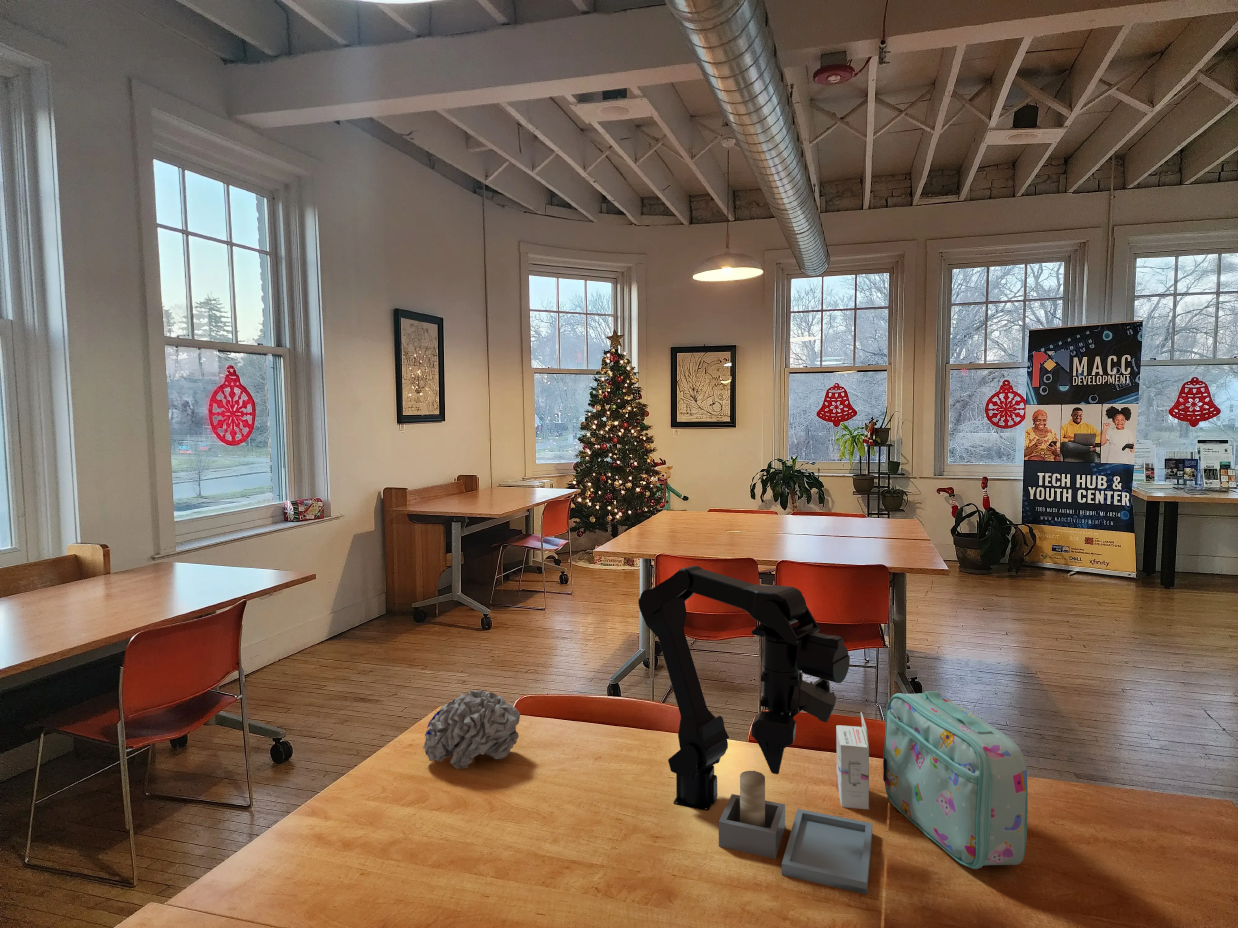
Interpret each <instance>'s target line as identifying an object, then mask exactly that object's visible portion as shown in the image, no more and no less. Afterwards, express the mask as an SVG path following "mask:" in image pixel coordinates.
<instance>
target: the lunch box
mask: <svg viewBox="0 0 1238 928" xmlns="http://www.w3.org/2000/svg"><path fill="white" fill-rule="evenodd" d="M884 726H885V731H884V732H885V734H884V747H883V756H882V757H883V758H882V759H883V761H882V763H883V764H882V769H883V774H882V781H883V782H884V787H885V793H886V795H887V798H888V799H889V802H890V803H891V804H892V805H893V806H894V808H896V809H897V810H898V811H899V812H900V813H901V814H902V815H903V816H904V817H905V818H906V819H907V820H908V821H909V822H910V823H912V824H913V825H914V826H915V827H916V828H918V829H919V830H920V831H921V832H922V833H923V834H924V835H925V836H926V837H927V838H929V839H930V840H932V842H935V844H937V845H938V846H939V847H940V848H941V849H943V850H944V851H945V852H946V853H947V854H948V855H950V856H951V857H952V858H953V859H954V860H955V861H957V862H958V863H959V864H961V865H963V866H965V867H968V868H970V869H973V870H978V869H981V868H982V867H983V866H1011V865H1012V866H1017V865H1019V864H1021V863H1022V862H1023V860H1024V858H1025V855H1026V850H1027V849H1026V847H1027V837H1028V836H1027V833H1028V814H1029V813H1028V803H1029V801H1028V798H1029V797H1028V795H1029V793H1028V792H1029V791H1028V769H1027V764H1026V763H1027V762H1026V760H1025V756H1024V754H1023V752H1022V750H1021V749H1020V747H1019V746H1018V745H1017V744H1016V743H1015V742H1014V741H1013V740H1012V739H1011V738H1009V737H1008V736H1007V735H1006V734H1004V733H1002V732H1001V731H1000V730H998V729H997V728H995V727H994V726H992V725H991V724H989V723H987V722H986V721H985V720H983V719H981V718H980V717H978V716H977V715H975V714H973V713H972V712H970V711H969V710H967V709H965V708H964V707H962V706H961V705H960V704H959V705H958V704H957V703H956V702H953V701H952V700H950V699H948V698H946V697H944V696H942V695H941V693H940V692H939V691H936V690H935V691H925V692H921V693H920V692H919V693H901V692H898V693H895V694H893V695H892V696H891V697H890V698H889V700H888V701H887V705H886V709H885V725H884Z"/></svg>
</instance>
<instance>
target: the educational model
mask: <svg viewBox="0 0 1238 928" xmlns="http://www.w3.org/2000/svg"><path fill="white" fill-rule="evenodd" d="M520 719H521V713H520V711H518V709H517V708H516V707H515V706H513V705H511V703H508V702H507V701H506V700H505V699H504V696H502V695H497V694H496V693H494V692H492V691H484V690H481V689H479V690H476V689H473V690H469V691H467V694H465V693H461V695H460V696H458V697H456V698H455V699H453V700H452V701H448V703H446V704H444V705H443V706H441V708H440V709H439V711H437V712H436V713H434V715H433V716H432V717H431V719H430V721H429V722H428V724H427V727H426V728H427V730H426V731H425V734H424V736H425V741H424V742H423V747H422V748H423V749H424V752H425V756H426V757H428V760H429V761H431V762H433V761H437V762H443V760H444V759H445V758H448V759H449V758H450V757H451V756H452V758H451V759H450V762H449V764H451V765H452V767H454V768H456V769H457V770H458V769H468V768H469V765H470V764H471V763H473V761H474V758H475V757H478V756H479V755H482V756H483V755H486V756H489V757H491V758H493V759H495V760H502V759H505V758H506V757H507V756H508V755H509V753H510V751H511V749H513V748H514V747H513V746H514V745H516V744H517V741H518V739H519V737H520V736H519V731H518V732H517V725H519V724H520Z"/></svg>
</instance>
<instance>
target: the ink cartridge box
mask: <svg viewBox="0 0 1238 928" xmlns="http://www.w3.org/2000/svg"><path fill="white" fill-rule="evenodd" d="M860 719H861V726H854V725H853V726H852V725H838V724H837V725H836V726H835V727H836V728H835V729H836V730H835V732H836V733H835V734H836V787H837V788H836V789H837V792H838V797H839V802H840V807H841V808H847V809H848V808H849V809H859V810H860V809H861V810H870V747H869V736H868V735H869V734H868V728H867V724H866V721H865V719H864V715H863V712H862V711H860Z"/></svg>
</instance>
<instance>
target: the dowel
mask: <svg viewBox="0 0 1238 928" xmlns="http://www.w3.org/2000/svg"><path fill="white" fill-rule="evenodd" d="M739 795H740V823H745V824H749V825H754V826H759V827H764V828H765V800H766V776H765V775H764V774H763V773H762V772H759V771H755V770H745V771H743V772H741V773H740V774H739Z"/></svg>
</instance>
